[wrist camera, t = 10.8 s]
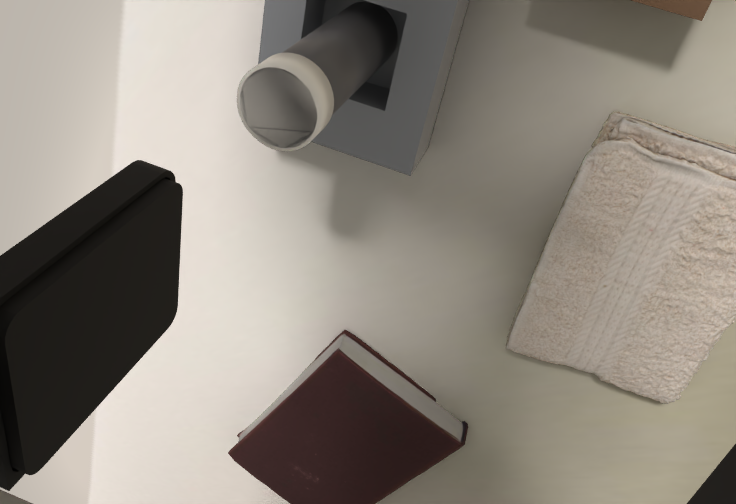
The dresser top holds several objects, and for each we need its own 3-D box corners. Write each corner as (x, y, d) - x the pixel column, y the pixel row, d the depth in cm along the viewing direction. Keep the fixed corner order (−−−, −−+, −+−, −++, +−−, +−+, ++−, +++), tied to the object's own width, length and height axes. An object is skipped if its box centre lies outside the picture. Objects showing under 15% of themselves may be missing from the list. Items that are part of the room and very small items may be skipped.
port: (307, -107, 37) (272, -98, 34) (484, -56, 36) (467, -41, 32) (280, 98, 44) (249, 123, 41) (427, 148, 43) (408, 178, 39)
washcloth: (823, 162, 36) (836, 187, 34) (675, 392, 47) (677, 424, 44) (600, 97, 38) (597, 117, 36) (506, 332, 49) (498, 360, 46)
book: (473, 421, 54) (464, 452, 52) (342, 510, 66) (330, 539, 63) (349, 322, 53) (334, 348, 51) (239, 430, 65) (222, 457, 62)
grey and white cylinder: (341, -11, 38) (240, 51, 29) (407, 9, 38) (327, 80, 28) (329, 56, 41) (233, 134, 31) (391, 76, 40) (313, 162, 30)
